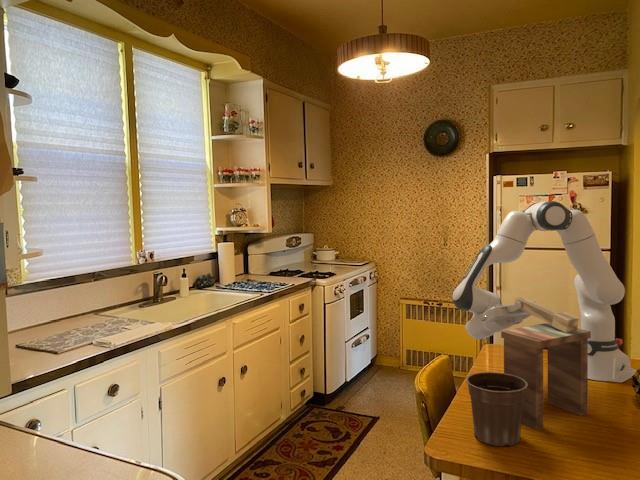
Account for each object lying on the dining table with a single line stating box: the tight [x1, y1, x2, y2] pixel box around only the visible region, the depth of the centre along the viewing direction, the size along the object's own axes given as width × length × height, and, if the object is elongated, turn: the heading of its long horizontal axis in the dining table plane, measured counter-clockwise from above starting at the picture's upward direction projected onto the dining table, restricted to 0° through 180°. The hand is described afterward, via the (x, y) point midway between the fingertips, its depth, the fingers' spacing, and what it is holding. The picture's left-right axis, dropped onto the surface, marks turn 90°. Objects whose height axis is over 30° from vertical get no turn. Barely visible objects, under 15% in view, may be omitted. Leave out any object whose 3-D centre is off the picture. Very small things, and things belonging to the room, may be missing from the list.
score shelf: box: [500, 322, 591, 430], centre depth 151 cm, size 22×14×26 cm, turn 115°
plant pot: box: [465, 371, 528, 447], centre depth 137 cm, size 16×16×16 cm
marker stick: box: [513, 297, 580, 333], centre depth 157 cm, size 5×21×4 cm, turn 26°
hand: (526, 303), depth 163 cm, fingers closed on marker stick, 3 cm apart
